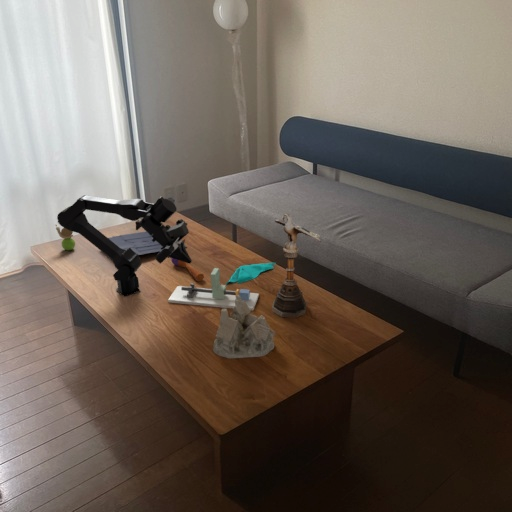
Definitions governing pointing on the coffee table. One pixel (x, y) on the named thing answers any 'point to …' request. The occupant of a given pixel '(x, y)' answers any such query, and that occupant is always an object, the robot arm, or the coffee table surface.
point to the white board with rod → (205, 297)
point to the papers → (137, 243)
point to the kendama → (194, 272)
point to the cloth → (249, 272)
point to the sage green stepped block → (217, 285)
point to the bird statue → (291, 274)
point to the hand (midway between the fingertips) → (190, 262)
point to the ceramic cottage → (242, 333)
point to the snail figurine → (66, 238)
